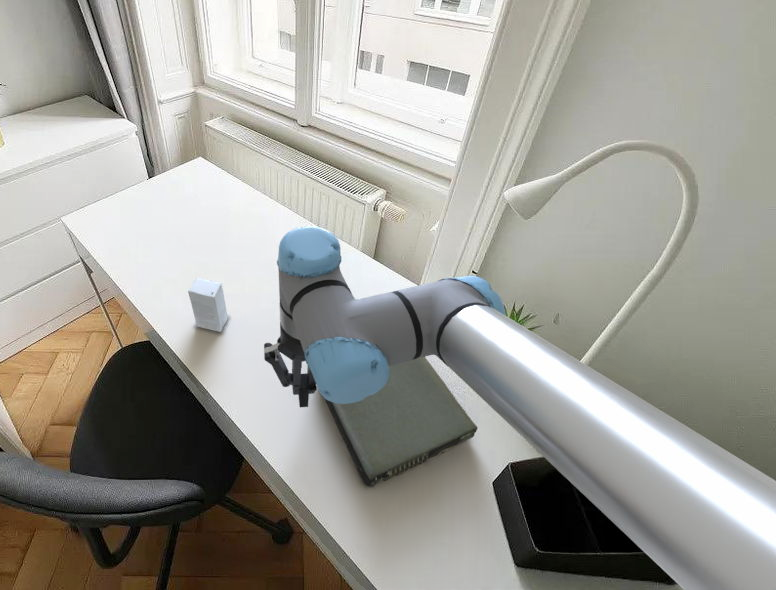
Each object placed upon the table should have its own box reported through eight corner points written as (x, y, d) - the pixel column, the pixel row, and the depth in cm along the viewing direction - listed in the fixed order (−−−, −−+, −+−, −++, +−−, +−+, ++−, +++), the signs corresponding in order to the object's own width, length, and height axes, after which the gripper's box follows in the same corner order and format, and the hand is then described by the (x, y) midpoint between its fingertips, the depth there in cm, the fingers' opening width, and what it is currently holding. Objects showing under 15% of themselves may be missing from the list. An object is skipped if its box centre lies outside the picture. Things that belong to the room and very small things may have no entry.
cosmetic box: (228, 317, 92) (222, 282, 85) (221, 333, 89) (214, 298, 81) (204, 311, 94) (196, 276, 86) (195, 326, 90) (187, 291, 83)
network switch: (376, 507, 64) (380, 496, 61) (300, 382, 80) (301, 368, 77) (481, 433, 72) (490, 420, 69) (393, 333, 88) (397, 319, 85)
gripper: (347, 296, 61) (335, 377, 76) (259, 301, 60) (266, 381, 75) (357, 340, 55) (343, 418, 70) (261, 346, 55) (267, 423, 70)
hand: (303, 399), depth 73 cm, fingers closed
